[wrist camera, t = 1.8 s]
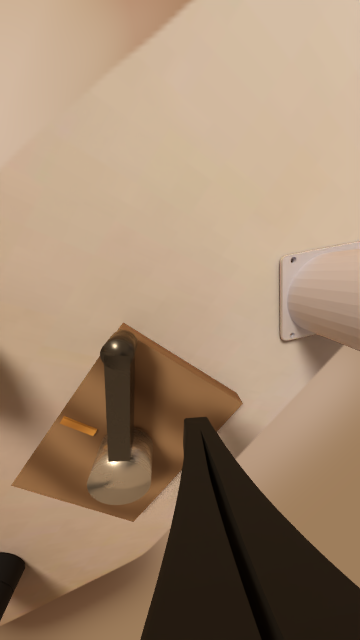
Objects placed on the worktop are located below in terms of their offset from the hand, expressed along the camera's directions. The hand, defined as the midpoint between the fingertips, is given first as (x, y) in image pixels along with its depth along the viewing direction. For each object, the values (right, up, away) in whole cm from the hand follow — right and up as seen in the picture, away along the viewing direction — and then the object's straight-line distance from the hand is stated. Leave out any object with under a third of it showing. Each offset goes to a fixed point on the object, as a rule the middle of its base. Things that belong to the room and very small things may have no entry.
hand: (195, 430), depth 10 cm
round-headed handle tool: (-6, -1, +5) cm, 8 cm away
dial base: (-6, -5, +8) cm, 12 cm away
